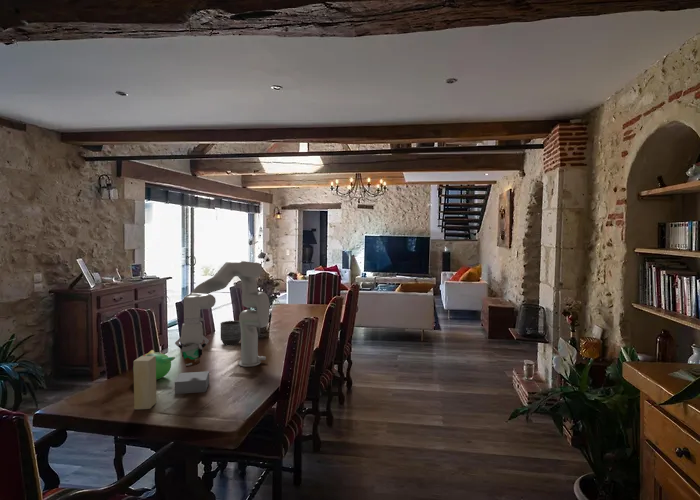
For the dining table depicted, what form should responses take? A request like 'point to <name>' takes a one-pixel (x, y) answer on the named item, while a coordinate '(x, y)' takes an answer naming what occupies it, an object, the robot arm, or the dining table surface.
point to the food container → (191, 355)
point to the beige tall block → (144, 382)
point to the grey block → (192, 382)
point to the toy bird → (160, 363)
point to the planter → (230, 332)
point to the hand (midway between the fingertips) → (192, 357)
